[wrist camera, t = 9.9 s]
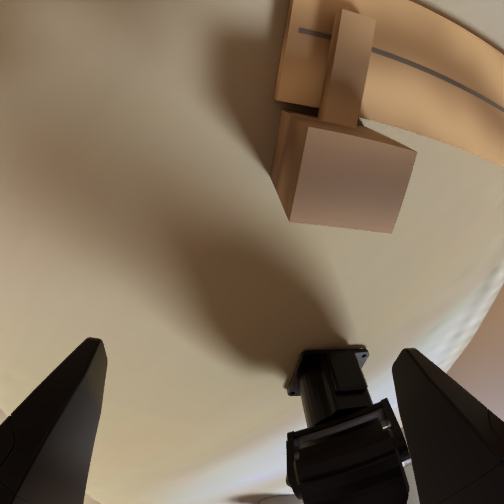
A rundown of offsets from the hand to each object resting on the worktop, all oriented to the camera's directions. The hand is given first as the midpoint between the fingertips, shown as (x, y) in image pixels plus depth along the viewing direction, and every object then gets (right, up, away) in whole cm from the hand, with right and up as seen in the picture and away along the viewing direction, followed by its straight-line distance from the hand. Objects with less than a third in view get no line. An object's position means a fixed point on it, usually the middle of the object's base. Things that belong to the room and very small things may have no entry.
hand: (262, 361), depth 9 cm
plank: (+11, +14, +7) cm, 19 cm away
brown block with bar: (+4, +11, +8) cm, 14 cm away
